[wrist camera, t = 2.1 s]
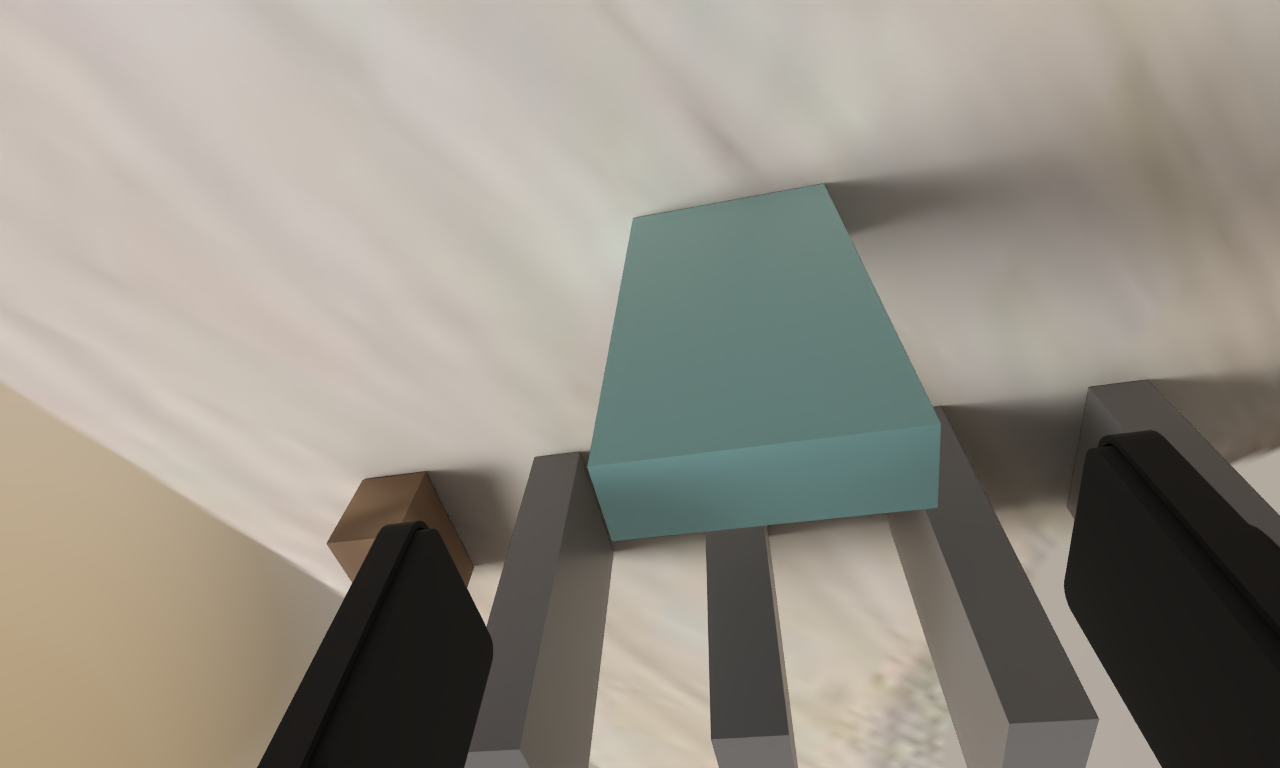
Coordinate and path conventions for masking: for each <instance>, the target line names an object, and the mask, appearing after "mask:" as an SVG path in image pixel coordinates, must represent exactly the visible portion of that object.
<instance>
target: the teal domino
mask: <svg viewBox="0 0 1280 768" xmlns="http://www.w3.org/2000/svg"><path fill="white" fill-rule="evenodd" d="M940 435H941V423H940V421H939V419H938V417H937V415H936V413H935V411H934V409H933V406H932V404H931V402H930V400H929V398H928V396H927V394H926V392H925V390H924V388H923V386H922V384H921V382H920V380H919V378H918V376H917V374H916V372H915V370H914V368H913V365H912V363H911V361H910V359H909V357H908V355H907V353H906V351H905V349H904V347H903V345H902V343H901V341H900V339H899V337H898V335H897V333H896V331H895V329H894V326H893V324H892V322H891V320H890V318H889V316H888V314H887V312H886V310H885V308H884V306H883V304H882V302H881V300H880V298H879V296H878V294H877V292H876V290H875V287H874V285H873V283H872V281H871V279H870V277H869V275H868V273H867V271H866V269H865V267H864V265H863V263H862V261H861V259H860V257H859V255H858V253H857V251H856V248H855V246H854V244H853V242H852V240H851V238H850V236H849V234H848V232H847V230H846V228H845V226H844V224H843V222H842V220H841V218H840V216H839V214H838V212H837V209H836V207H835V205H834V203H833V201H832V199H831V197H830V195H829V193H828V191H827V189H826V187H825V185H824V184H818V185H813V186H807V187H802V188H796V189H791V190H785V191H780V192H774V193H769V194H763V195H758V196H752V197H747V198H741V199H736V200H730V201H725V202H720V203H714V204H709V205H703V206H698V207H692V208H687V209H681V210H676V211H670V212H665V213H659V214H654V215H648V216H643V217H637V218H633V221H632V227H631V232H630V238H629V243H628V248H627V254H626V259H625V265H624V270H623V276H622V281H621V286H620V292H619V297H618V303H617V308H616V314H615V319H614V324H613V330H612V335H611V341H610V346H609V352H608V357H607V362H606V368H605V373H604V379H603V384H602V390H601V395H600V400H599V406H598V411H597V417H596V422H595V428H594V433H593V438H592V444H591V449H590V455H589V460H588V466H587V468H588V471H589V474H590V477H591V480H592V483H593V486H594V489H595V492H596V495H597V498H598V501H599V504H600V507H601V510H602V513H603V516H604V519H605V522H606V525H607V528H608V531H609V534H610V537H611V540H612V541H620V540H630V539H640V538H649V537H659V536H669V535H678V534H688V533H698V532H707V531H717V530H727V529H736V528H746V527H756V526H766V525H775V524H785V523H795V522H804V521H814V520H824V519H833V518H843V517H853V516H862V515H872V514H882V513H891V512H901V511H911V510H920V509H930V508H938V486H939V461H940Z"/></svg>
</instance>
